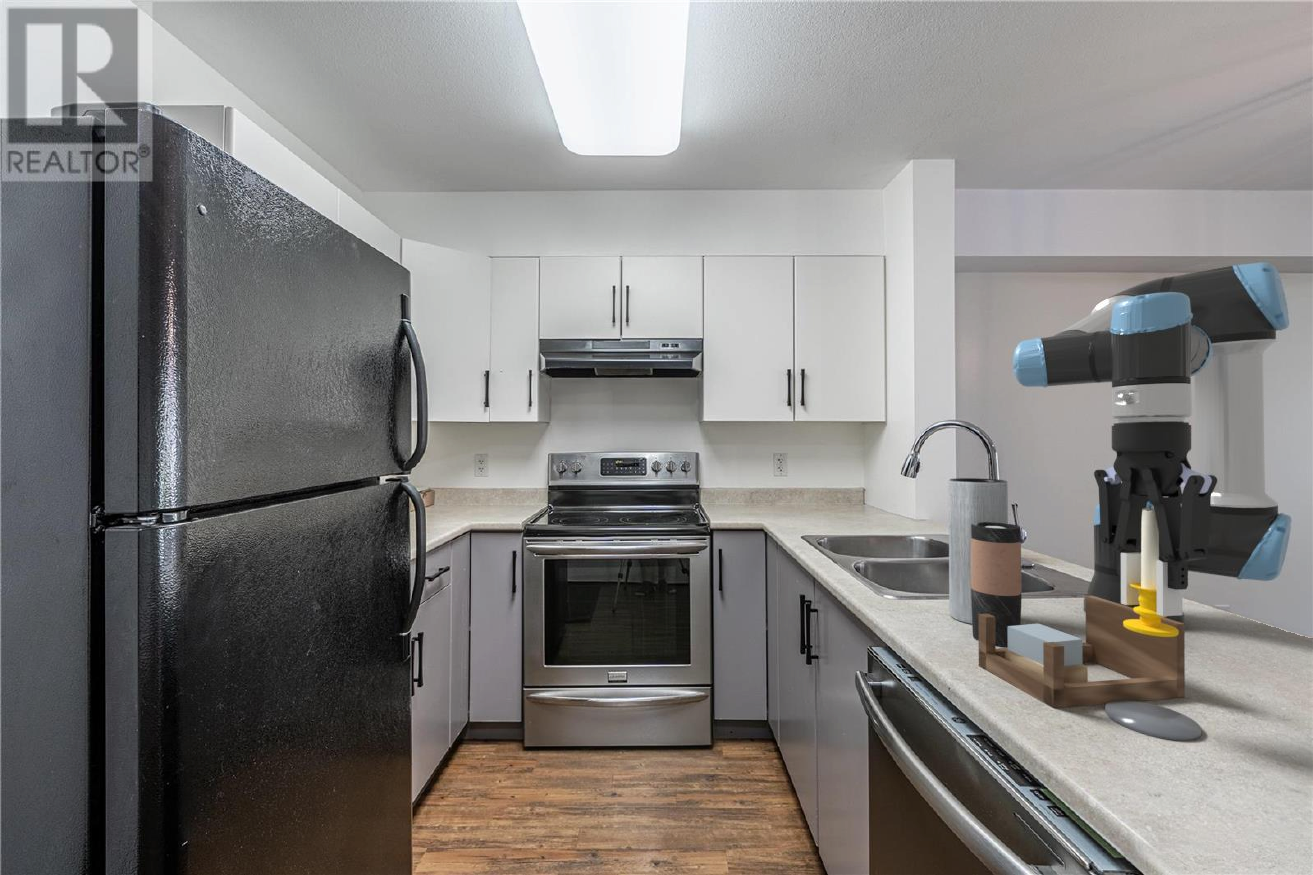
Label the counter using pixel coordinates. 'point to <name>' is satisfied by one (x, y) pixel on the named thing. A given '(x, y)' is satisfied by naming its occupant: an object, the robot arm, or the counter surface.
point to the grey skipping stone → (1153, 720)
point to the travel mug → (996, 576)
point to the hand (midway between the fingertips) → (1150, 608)
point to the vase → (968, 507)
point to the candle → (1149, 583)
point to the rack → (1098, 661)
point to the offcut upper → (1031, 641)
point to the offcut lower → (1070, 672)
